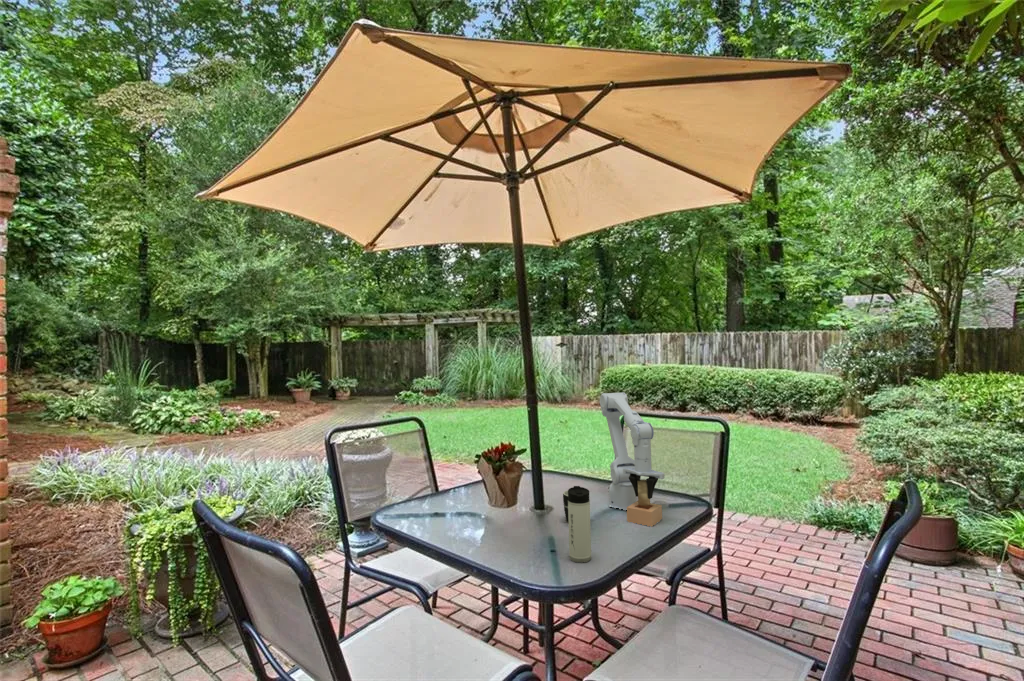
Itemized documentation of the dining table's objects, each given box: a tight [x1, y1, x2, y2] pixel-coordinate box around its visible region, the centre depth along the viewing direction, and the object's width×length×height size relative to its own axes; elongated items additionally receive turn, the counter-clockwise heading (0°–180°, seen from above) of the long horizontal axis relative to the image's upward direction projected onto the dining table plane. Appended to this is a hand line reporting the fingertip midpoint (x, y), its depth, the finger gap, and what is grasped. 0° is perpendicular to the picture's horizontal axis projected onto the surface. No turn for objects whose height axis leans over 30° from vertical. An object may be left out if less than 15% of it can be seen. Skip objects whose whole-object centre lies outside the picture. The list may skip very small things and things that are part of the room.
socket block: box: [626, 500, 663, 528], centre depth 171 cm, size 9×9×5 cm
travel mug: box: [567, 485, 592, 564], centre depth 142 cm, size 6×7×20 cm
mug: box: [562, 489, 569, 524], centre depth 170 cm, size 12×9×10 cm
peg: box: [637, 478, 651, 506], centre depth 172 cm, size 4×4×8 cm
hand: (643, 496), depth 172 cm, fingers closed on peg, 4 cm apart
